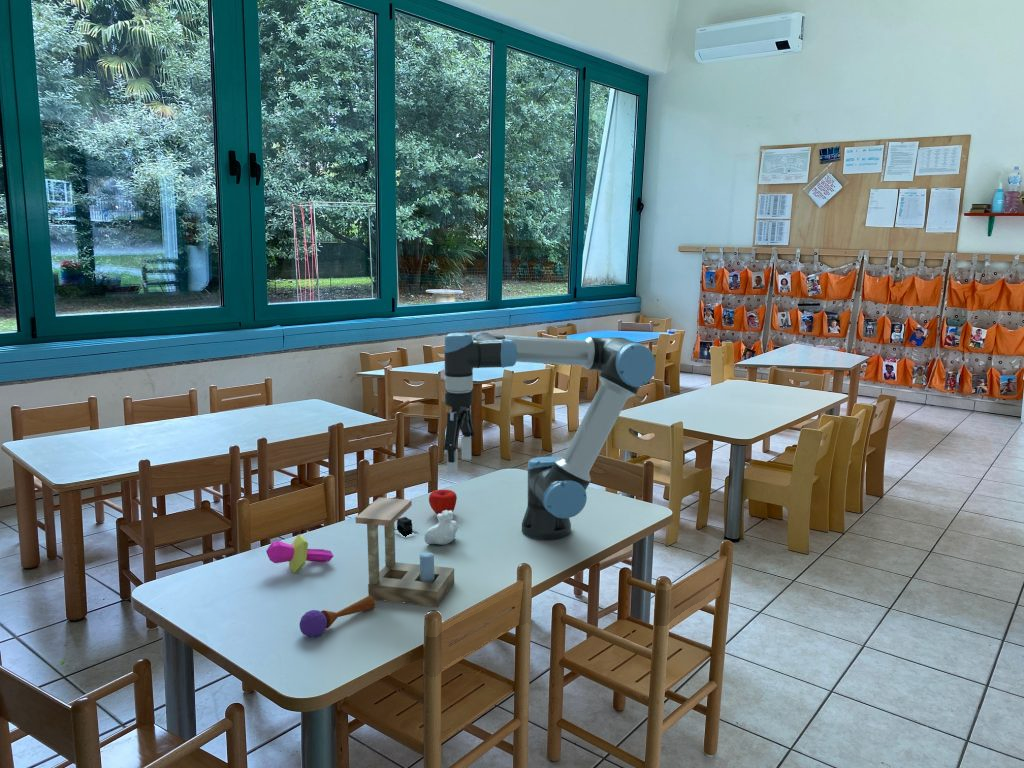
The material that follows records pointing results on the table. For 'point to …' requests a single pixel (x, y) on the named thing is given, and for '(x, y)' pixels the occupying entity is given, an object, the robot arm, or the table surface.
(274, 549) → the toy
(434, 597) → the socket board
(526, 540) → the table surface
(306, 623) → the kendama
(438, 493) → the apple
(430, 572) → the peg
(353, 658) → the table surface
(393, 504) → the awning
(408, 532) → the black rounded block
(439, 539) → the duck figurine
